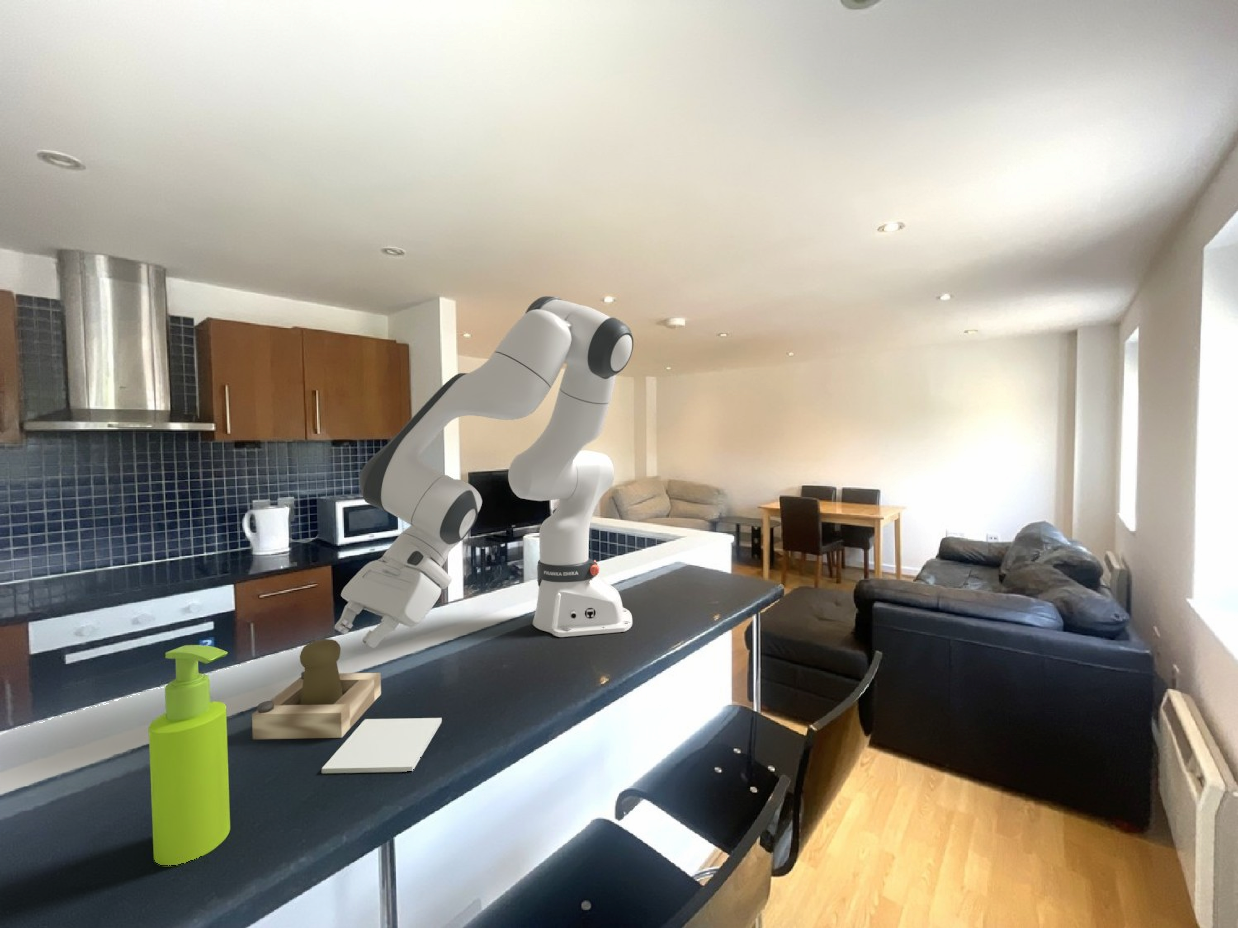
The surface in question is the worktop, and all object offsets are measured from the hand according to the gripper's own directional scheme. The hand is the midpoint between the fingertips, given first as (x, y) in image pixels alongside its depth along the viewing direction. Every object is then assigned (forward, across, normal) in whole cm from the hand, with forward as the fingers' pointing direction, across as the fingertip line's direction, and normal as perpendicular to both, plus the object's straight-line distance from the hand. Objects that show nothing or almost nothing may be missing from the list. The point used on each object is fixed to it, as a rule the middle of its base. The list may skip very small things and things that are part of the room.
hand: (352, 637), depth 77 cm
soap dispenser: (+24, +15, -8) cm, 29 cm away
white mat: (+9, +14, +6) cm, 18 cm away
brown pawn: (+11, -1, +5) cm, 12 cm away
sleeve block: (+10, -1, +5) cm, 11 cm away
